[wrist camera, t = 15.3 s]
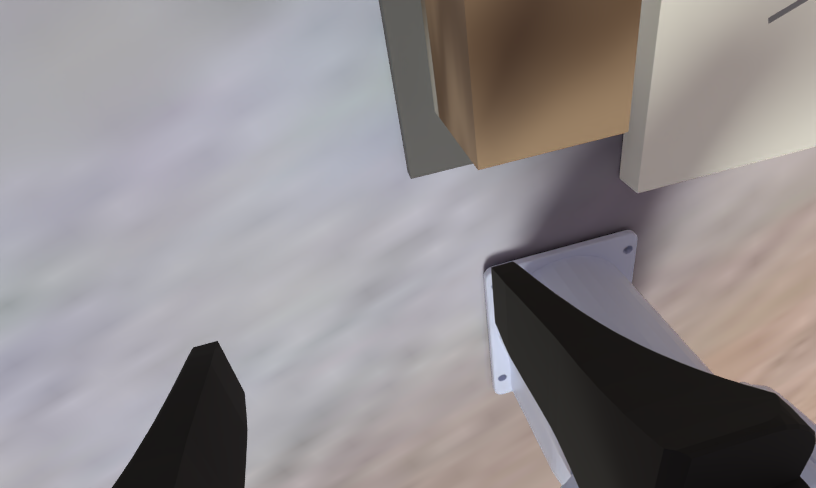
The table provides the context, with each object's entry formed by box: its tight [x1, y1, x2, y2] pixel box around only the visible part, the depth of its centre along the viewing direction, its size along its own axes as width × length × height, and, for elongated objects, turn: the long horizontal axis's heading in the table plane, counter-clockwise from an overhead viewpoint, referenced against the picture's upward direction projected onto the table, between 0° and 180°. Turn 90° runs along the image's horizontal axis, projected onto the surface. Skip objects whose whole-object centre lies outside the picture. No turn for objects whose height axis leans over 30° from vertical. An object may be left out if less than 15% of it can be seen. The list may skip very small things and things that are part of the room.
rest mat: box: [379, 0, 473, 179], centre depth 19 cm, size 12×8×1 cm, turn 9°
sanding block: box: [421, 0, 642, 170], centre depth 17 cm, size 7×5×5 cm
